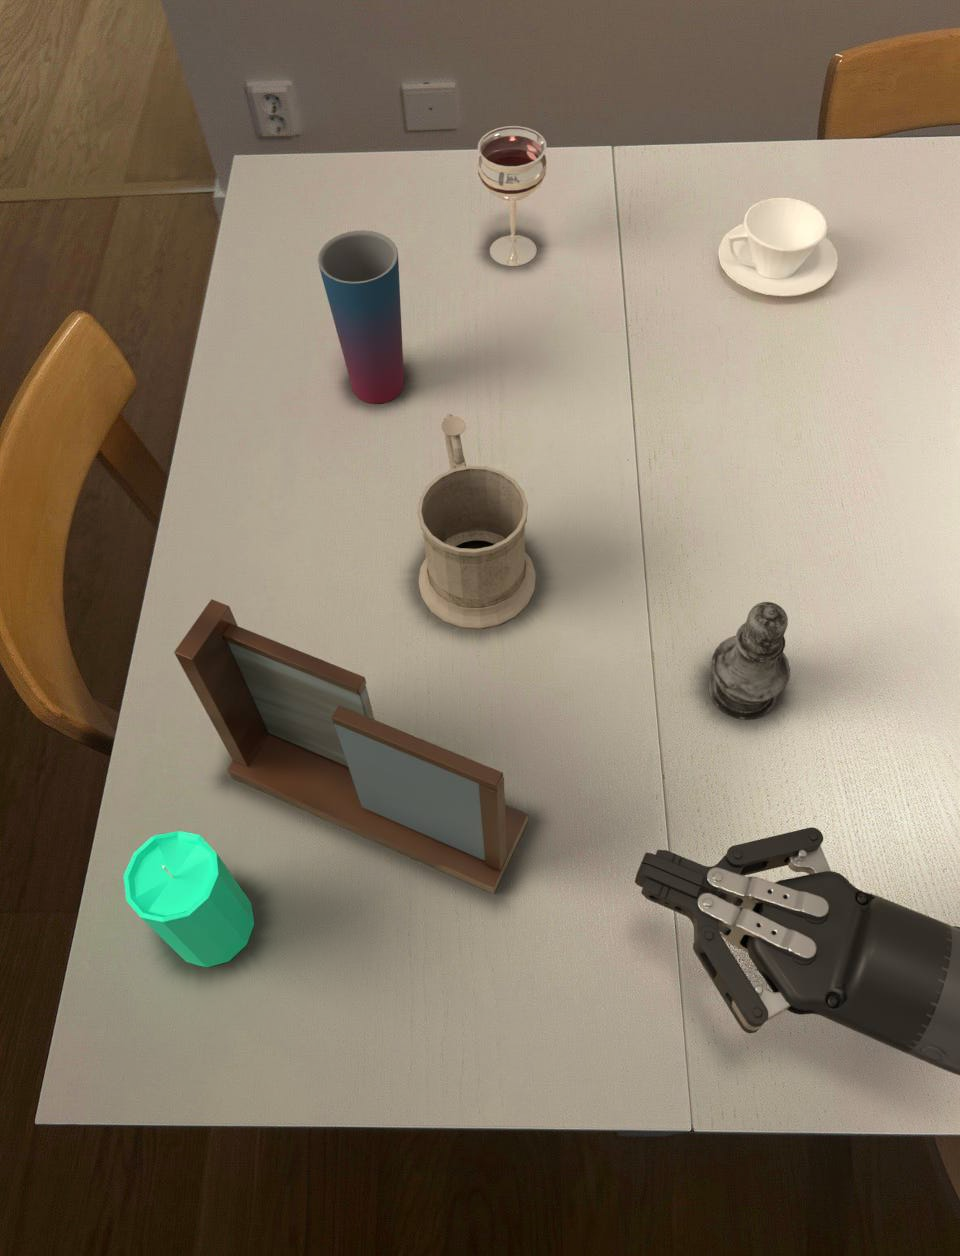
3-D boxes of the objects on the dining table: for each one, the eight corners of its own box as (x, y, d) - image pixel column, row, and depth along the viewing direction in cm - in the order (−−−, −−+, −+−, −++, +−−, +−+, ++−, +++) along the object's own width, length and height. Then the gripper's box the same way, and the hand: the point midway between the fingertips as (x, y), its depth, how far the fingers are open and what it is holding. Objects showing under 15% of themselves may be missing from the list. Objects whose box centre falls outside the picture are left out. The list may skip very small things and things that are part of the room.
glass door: (500, 870, 74) (496, 788, 62) (360, 809, 77) (329, 718, 65) (507, 855, 75) (504, 770, 63) (368, 795, 78) (339, 703, 66)
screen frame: (493, 894, 75) (486, 796, 61) (231, 777, 81) (166, 662, 66) (527, 821, 78) (528, 711, 63) (271, 713, 84) (218, 589, 69)
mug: (547, 615, 88) (551, 526, 78) (431, 638, 87) (419, 552, 77) (507, 483, 95) (506, 387, 85) (400, 504, 94) (385, 409, 84)
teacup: (695, 248, 111) (702, 204, 107) (794, 216, 114) (805, 172, 109) (754, 320, 105) (764, 277, 101) (857, 285, 108) (872, 241, 103)
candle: (249, 966, 73) (205, 914, 63) (163, 968, 73) (105, 916, 63) (258, 882, 76) (218, 819, 66) (176, 883, 77) (123, 821, 66)
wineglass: (558, 249, 112) (562, 145, 102) (512, 280, 110) (511, 177, 100) (513, 221, 115) (512, 116, 105) (467, 250, 112) (462, 147, 102)
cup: (417, 361, 104) (403, 231, 91) (408, 412, 100) (391, 284, 88) (349, 358, 104) (325, 228, 92) (337, 409, 101) (311, 281, 88)
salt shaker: (698, 712, 83) (722, 630, 72) (712, 649, 85) (737, 562, 75) (774, 731, 81) (810, 651, 71) (786, 667, 84) (822, 581, 74)
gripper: (883, 1116, 60) (595, 984, 64) (935, 904, 66) (670, 798, 70) (925, 1094, 53) (602, 950, 58) (978, 863, 60) (684, 749, 64)
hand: (640, 867), depth 64 cm, fingers closed
